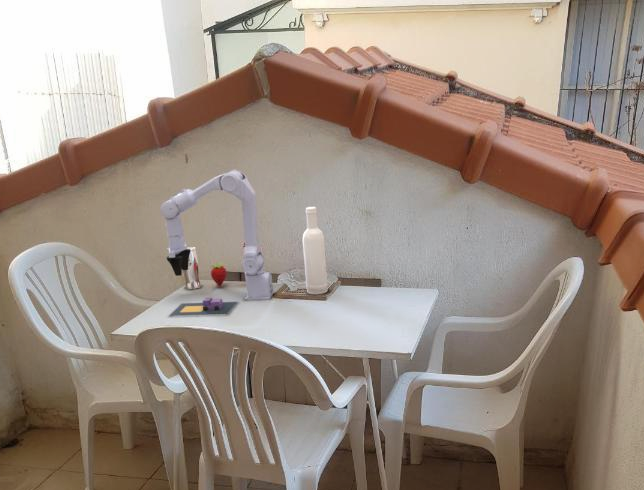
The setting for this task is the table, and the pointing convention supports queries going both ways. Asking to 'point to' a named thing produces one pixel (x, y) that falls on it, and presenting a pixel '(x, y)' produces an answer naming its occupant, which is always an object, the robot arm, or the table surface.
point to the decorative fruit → (218, 274)
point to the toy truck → (212, 304)
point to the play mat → (201, 309)
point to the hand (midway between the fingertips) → (181, 272)
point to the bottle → (314, 255)
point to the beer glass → (192, 271)
